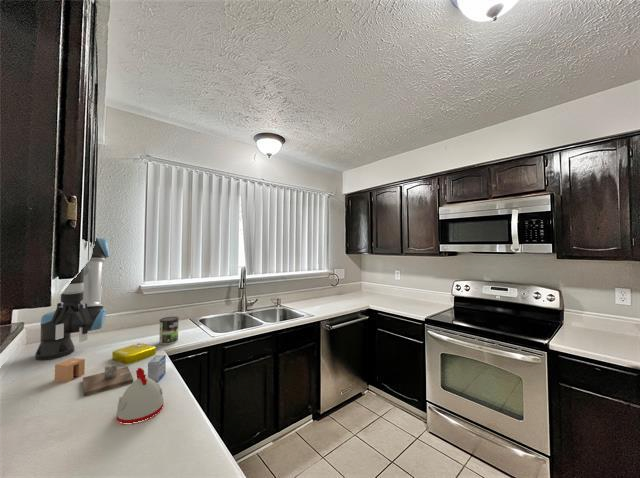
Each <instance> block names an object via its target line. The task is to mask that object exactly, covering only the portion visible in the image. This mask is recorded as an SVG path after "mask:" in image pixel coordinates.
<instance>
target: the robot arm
mask: <svg viewBox="0 0 640 478" xmlns="http://www.w3.org/2000/svg"><path fill="white" fill-rule="evenodd" d="M95 238H96V241H95V246H94V248H93V254H92V257H91V259H90V261H89V262H88V263H87V264H86V266H85V267H84V268H83V269H82V270H81V272H80V273H79V274H78V275H77V277H76V278H74V279H73V280H72V281H71V283H70V284H69V286H68V287H67V288H66V289H65V291H64V292H63V293H61V294H60V302H57V305H56V309H55V310H54V311H50V312H47V313H45V314H43V315H42V316H41V319H40V321H41V322H39V323H40V341H39V342H40V343H39V345H38V348H37V349H36V352H35V354H34V355H35V356H34V358H35V360H37V361H46V360H54V359H58V358H62V357H66V356H68V355H70V354H73V353H74V352H75V345H74V342H73V340H72V337H71V334H74V333H79V336H78V338H79V340H78V341H79V343H82V342H85V341H88V332H89V331H90V332H92V331H96V330H101V329H102V328H103V326H104V323H105V321H106V316H107V308H104V305H103V304H102V303H101V295H102V294H101V292H102V280H103V279H102V277H103V265H104V264H103V263H104V262H106V261H107V258H109V257H110V248H109V242H108V240H107V239H106V238H99V237H95Z"/></svg>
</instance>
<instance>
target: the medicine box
mask: <svg viewBox="0 0 640 478" xmlns="http://www.w3.org/2000/svg"><path fill="white" fill-rule="evenodd" d="M166 356H167V355H166V354H158V355H155V356H154V357H153V358H152V359H150V360H149V361H148V362H147V378H150V379H152V380H153V381H155V382H156V383H157V382H159V381H160V380H161V379H162V378H163V377H164V375H165V374H166V372H167V371H166V369H167V368H166V365H167V364H166V363H167V361H166Z"/></svg>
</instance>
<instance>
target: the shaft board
mask: <svg viewBox="0 0 640 478" xmlns="http://www.w3.org/2000/svg"><path fill="white" fill-rule="evenodd" d="M133 382H134V378H133V375H132V373H131V371H130V368H129V366H125V367H124V366H123V367H120V368H118V366H117V363H115V364H111V365H106V366H104V371H103V372H99V373H96V374H92V375H88V376H84V377H82V387H83V388H82V389H83V397H87V396H90V395H93V394H97V393H101V392H104V391H107V390H111V389H115V388H118V387H121V386H125V385H129V384H132V383H133Z"/></svg>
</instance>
